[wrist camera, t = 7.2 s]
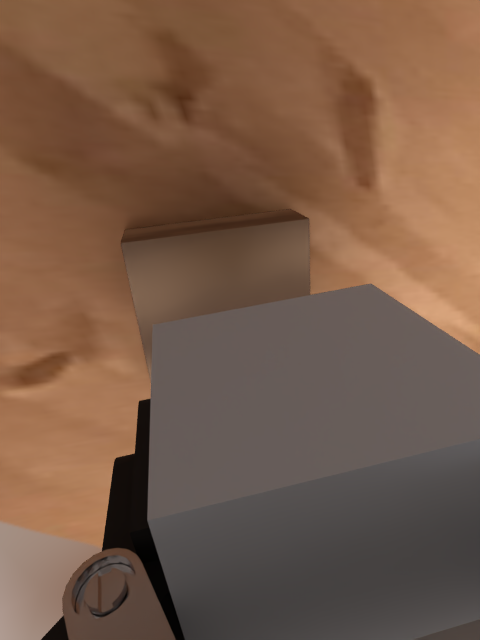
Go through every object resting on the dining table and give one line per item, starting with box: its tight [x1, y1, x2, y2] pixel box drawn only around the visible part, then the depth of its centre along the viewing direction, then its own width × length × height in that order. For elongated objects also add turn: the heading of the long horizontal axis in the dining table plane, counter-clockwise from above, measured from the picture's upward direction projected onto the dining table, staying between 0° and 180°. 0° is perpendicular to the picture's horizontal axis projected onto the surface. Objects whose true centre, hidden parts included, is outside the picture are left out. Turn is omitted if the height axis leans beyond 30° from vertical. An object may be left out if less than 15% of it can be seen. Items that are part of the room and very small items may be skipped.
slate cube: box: [147, 284, 480, 640], centre depth 9 cm, size 6×6×6 cm
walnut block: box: [121, 209, 310, 381], centre depth 27 cm, size 11×11×4 cm
